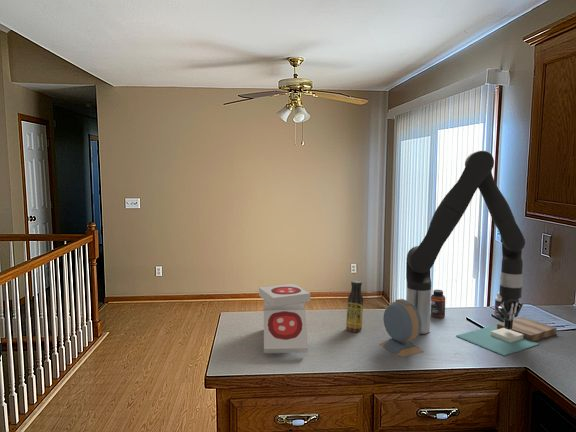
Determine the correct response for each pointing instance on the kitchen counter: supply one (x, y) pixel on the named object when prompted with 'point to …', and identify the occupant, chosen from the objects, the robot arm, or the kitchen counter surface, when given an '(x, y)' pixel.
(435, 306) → the supplement bottle
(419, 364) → the kitchen counter surface
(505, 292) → the robot arm
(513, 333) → the tile
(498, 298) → the pill bottle
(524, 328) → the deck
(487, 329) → the mat
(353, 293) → the sauce bottle
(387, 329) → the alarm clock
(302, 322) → the pizza boxes
